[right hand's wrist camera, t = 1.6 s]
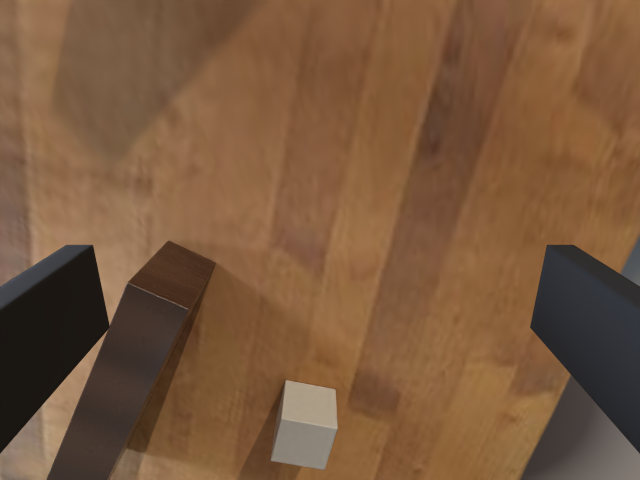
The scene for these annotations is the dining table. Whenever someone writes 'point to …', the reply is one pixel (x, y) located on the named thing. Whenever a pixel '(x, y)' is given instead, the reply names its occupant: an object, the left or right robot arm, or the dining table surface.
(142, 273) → the walnut beam
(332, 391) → the grey cube
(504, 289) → the dining table surface
